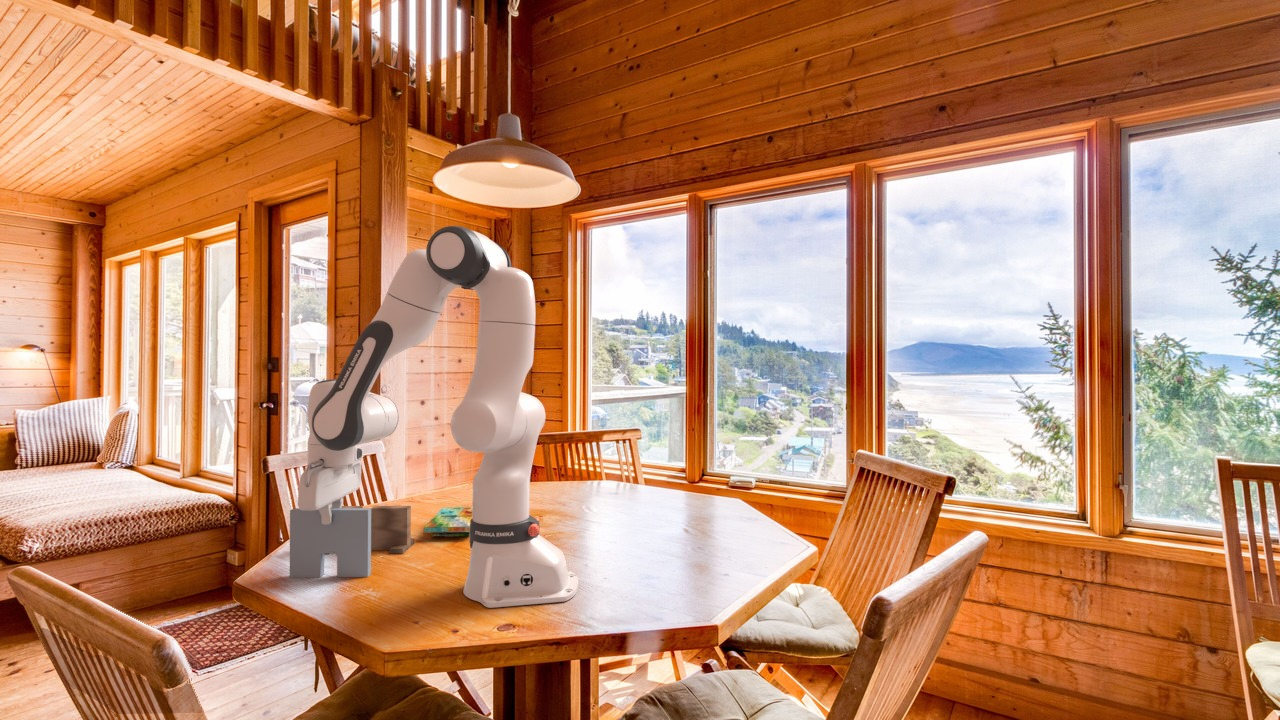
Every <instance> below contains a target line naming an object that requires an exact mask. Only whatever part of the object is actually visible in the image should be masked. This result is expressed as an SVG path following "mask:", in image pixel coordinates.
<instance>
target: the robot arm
mask: <svg viewBox="0 0 1280 720" xmlns="http://www.w3.org/2000/svg"><path fill="white" fill-rule="evenodd" d="M458 288H461V289H463V290H473V291H475V293H476V295H477V297H478V301H479V310H478V311H479V312H478V313H479V314H478V324H477V325H478V326H477V327H478V328H477V329H478V330H477V339H476V340H477V341H476V342H477V344H476V353H475V356H476V357H475V362H474V366H473V371H472V374H471V377H470V380H469V382H468V383H469V384H468V387H467V389H466V392H465V395H464V397H463V398H462V401H461V402H460V403H459V405H458V406H456V408H455V410H454V411H453V413H452V415H451V419H450V432H451V435H452V437H453V439H454V441H455V443H457V445H458V446H459V447H461V449H464V450H465V451H469V452H473V453H483V455H482V460H481V463H480V465H479V468H478V470H477V471H476V473H475V474H474V476H473V480H472V507H473V514H472V519H471V520H470V527H469V536H468V538H469V539H468V540H469V548H470V555H469V556H470V557H469V558H470V559H469V565H468V570H467V576H466V578H465V579H466V580H465V583H464V587H463V590H462V592H463V595H464V596H465V597H466V598H468V599H469V600H473V601H475V602H479V603H481V604H482V605H483V606H484V607H485V608H490V609H491V608H492V609H493V608H502V607H504V608H505V607H515V606H516V607H517V606H525V605H527V606H529V605H538V604H551V603H561V602H568V601H570V600H571V599H572V598H573V597H575V595H576V594H577V592H578V590H579V584H580V583H579V578H578V576H577V574H576V573H574V572H573V571H570V570H568V565H567V561H566V557H565V554H564V553H563V551H562V550H561V549H560V548H558V547H557V546H556V545H554V544H552V543H551V542H550V541H549V540H547V539H546V538H544V536H542V535H540V518H539V517H538V516H537V518H535V517H534V516H533V515H531V514H530V493H531V492H530V487H531V486H530V485H531V473H532V467H533V463H534V462H533V461H534V457H535V454H536V453H535V452H536V448H537V443H538V439H539V436H540V434H541V431H542V429H543V428H544V426H545V423H546V419H547V418H546V409H545V407H544V404H543V403H542V402H541V401H540V400H539V399H538V398H537V397H536V396H533V395H531V394H529V393H527V392H526V393H525V392H522V389H523V387H524V383H525V380H526V378H527V375H528V373H529V371H530V370H531V369H532V367H533V364H534V356H535V355H534V353H535V338H536V318H537V317H536V316H537V314H536V297H535V295H536V294H535V289H534V282H533V280H532V278H531V276H530V275H529V274H528V273H527V272H525V271H524V270H522V269H519V268H517V267H513V266H512V261H511V258H510V256H509V254H508V252H507V250H505V249H504V247H503V246H501V245H500V244H499V243H497V242H495V241H493V240H492V239H490V238H489V237H488V236H486V235H485V234H483V233H480V232H478V231H475V230H473V229H470V228H467V227H465V226H459V225H449V226H444V227H441V228H439V229H437V230H436V231H435V232H434V233H433V234H432V235H431V237H430V238H429V240H428V242H427V244H426V248H416V249H413V250H411V251H410V252H408V254H407V255H406V256H405V257H404V259H403V260H402V261H401V263H400V265H399V267H398V268H397V271H396V273H394V276H393V278H392V280H391V282H390V284H389V287H388V289H387V290H386V291H387V292H386V294H385V296H384V299H383V301H382V303H381V305H380V307H379V309H378V311H377V312H376V313H375V316H374V317H373V318H372V320H371V321H370V323H369V324H367V326H366V327H365V328H364V330H363V331H362V332H361V334H360V335H359V336H358V338H357V340H356V342H355V343H354V346H353V347H352V350H351V351H350V353H349V354H348V357H347V359H346V361H345V363H344V364H343V367H342V369H341V370H340V372H339V375H338V376H337V378H333V379H331V378H330V379H324V380H320V381H318V382H316V383H315V384H313V385H312V387H311V389H310V392H309V396H308V401H307V403H308V405H307V424H308V425H307V426H308V427H309V436H308V439H307V466H306V468H305V470H304V471H303V472H302V473H301V475H300V477H299V484H298V497H297V506H298V508H299V509H300V510H303V511H313V510H319V512H320V514H321V516H322V524H330V523H332V522H333V520H334V519H333V518H334V514H332V513H331V509H330V508H342V506H343V504H344V497H346V496H349V495H350V494H352V493H355V492H356V491H358V490H359V488H360V487H361V486H360V485H361V482H362V460H361V459H362V458H364V449H363V447H359V446H358V445H362V444H367V443H371V442H374V441H379V440H382V439H384V438H388V437H389V436H392V434H393V433H394V432H395V430H396V429H397V427H398V423H399V418H400V417H399V410H398V408H397V405H396V404H395V403H394V401H393V400H392V399H391V398H390V397H387V396H384V395H381V394H377V393H373V392H371V390H372V388H373V386H374V384H375V382H376V380H377V378H378V376H379V374H380V372H381V371H382V369H383V367H384V365H386V363H387V362H389V361H390V360H391V359H392V358H393V357H395V356H396V355H398V354H400V353H403V352H404V351H405V350H408V349H410V348H412V347H415V346H418V345H420V344H421V343H423V342H425V341H426V340H427V339H428V338H429V337H430V336H431V334H432V333H433V331H434V329H435V328H436V326H437V325H438V323H439V322H438V321H439V319H440V316H441V314H442V311H443V308H444V307H445V303H446V300H447V299H448V297H449V295H450V293H451V292H452V291H453V290H455V289H458Z"/></svg>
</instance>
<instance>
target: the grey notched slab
mask: <svg viewBox="0 0 1280 720" xmlns="http://www.w3.org/2000/svg"><path fill="white" fill-rule="evenodd" d="M371 508H372V507H368V508H367V507H363V508H330V509H331V513H332V514H334V518H333V519H334V520H333V522H332V523H330V524H322V516H321V514H320V512H319V510H313V511H303V510H300V509H299V507H298V508H296V507H295V508H292V509H290V510H289V578H290V579H292V578H297V579H298V578H300V579H301V578H322V577H324V575H325V554H324V553H330V554H336V556H337V557H336V559H337V561H336V577H337V578H368V577H370V576H371V575H372V550H371Z"/></svg>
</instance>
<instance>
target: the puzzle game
mask: <svg viewBox="0 0 1280 720" xmlns="http://www.w3.org/2000/svg"><path fill="white" fill-rule="evenodd" d="M472 514H473V506H451V507H449V506H448V507H447V506H444V507H441V509H440V510H439V511H438V512H437V513H436V515H434V516H433V517H432V519H430V521H429V522H427V524H426V525H425V526H424V527H423V532H424V533H426V534H427V533H429V535H430V536H432V537H433V536H445V537H469V527H470V520H471V519H472Z"/></svg>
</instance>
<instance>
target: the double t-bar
mask: <svg viewBox="0 0 1280 720" xmlns="http://www.w3.org/2000/svg"><path fill="white" fill-rule="evenodd" d="M342 508H364V506H363V505H342ZM370 508H371V551H389V555H403V554H404V553H406V552H407V551H408V550H409V549H410V548H411V547H413V546H414V545H415V538H412V537H411V536H412V535H411V532H412V531H411V526H412V524H411V523H412V522H411V521H412V518H411V517H412V515H411V513H412V512H411V511H412V510H411V509H412V506H411V505H374V506H372V507H370ZM406 550H407V551H406ZM324 555H330V554H329V553H324Z"/></svg>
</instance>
